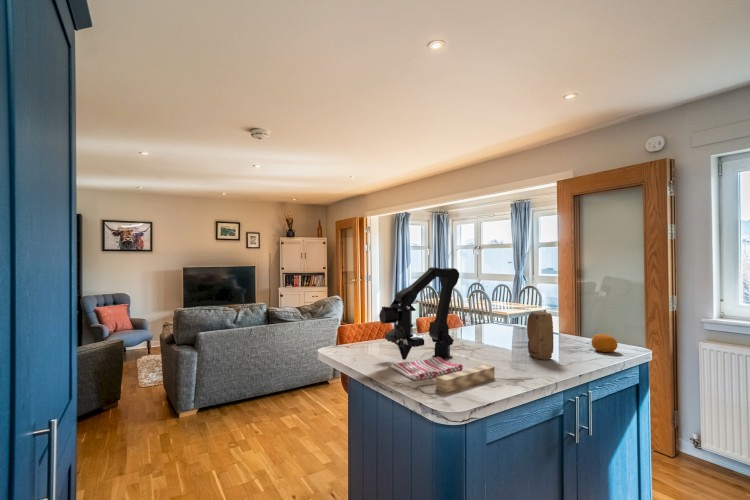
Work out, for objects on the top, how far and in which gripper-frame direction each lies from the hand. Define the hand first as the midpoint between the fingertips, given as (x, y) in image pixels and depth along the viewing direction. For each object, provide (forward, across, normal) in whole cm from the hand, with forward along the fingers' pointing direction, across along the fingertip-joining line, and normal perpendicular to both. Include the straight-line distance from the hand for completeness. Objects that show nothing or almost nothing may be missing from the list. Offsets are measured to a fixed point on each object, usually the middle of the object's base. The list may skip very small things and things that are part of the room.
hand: (404, 359), depth 157 cm
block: (+2, +29, +54) cm, 61 cm away
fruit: (+2, +41, +89) cm, 98 cm away
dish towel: (+2, +13, 0) cm, 13 cm away
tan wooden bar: (+1, +33, 0) cm, 33 cm away
